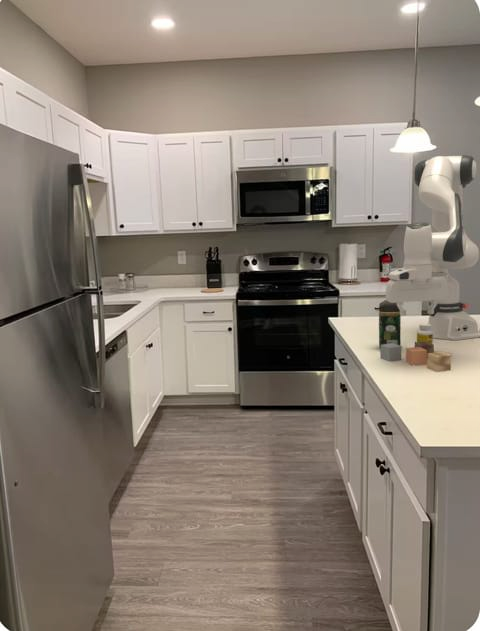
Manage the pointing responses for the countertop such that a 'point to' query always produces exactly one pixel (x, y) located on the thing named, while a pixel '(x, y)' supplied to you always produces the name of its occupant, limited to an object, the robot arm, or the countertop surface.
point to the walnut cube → (425, 346)
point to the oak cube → (439, 361)
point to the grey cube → (391, 352)
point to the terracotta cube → (416, 356)
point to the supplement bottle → (425, 333)
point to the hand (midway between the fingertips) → (416, 314)
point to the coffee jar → (389, 323)
